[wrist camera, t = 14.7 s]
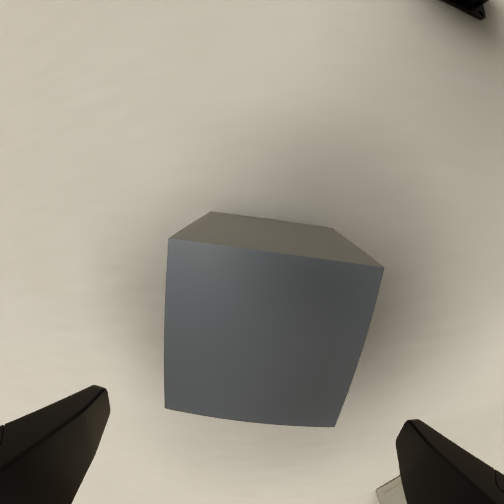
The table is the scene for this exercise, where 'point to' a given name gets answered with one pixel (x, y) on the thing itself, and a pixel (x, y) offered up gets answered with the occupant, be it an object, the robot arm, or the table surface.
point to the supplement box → (392, 493)
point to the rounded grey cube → (264, 319)
